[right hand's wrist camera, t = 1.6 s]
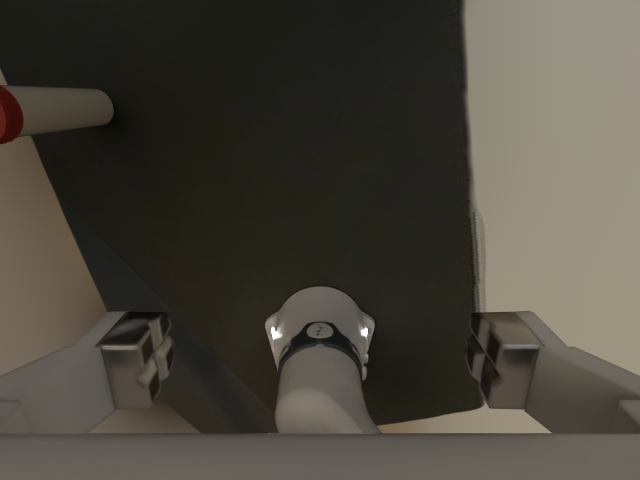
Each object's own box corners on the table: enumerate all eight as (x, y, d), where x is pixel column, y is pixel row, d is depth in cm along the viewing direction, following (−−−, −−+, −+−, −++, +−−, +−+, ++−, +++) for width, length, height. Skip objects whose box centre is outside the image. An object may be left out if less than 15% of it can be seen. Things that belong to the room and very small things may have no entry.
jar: (118, 98, 53) (10, 100, 35) (108, 131, 55) (0, 150, 36) (82, 81, 52) (-47, 74, 34) (74, 115, 54) (-54, 126, 36)
